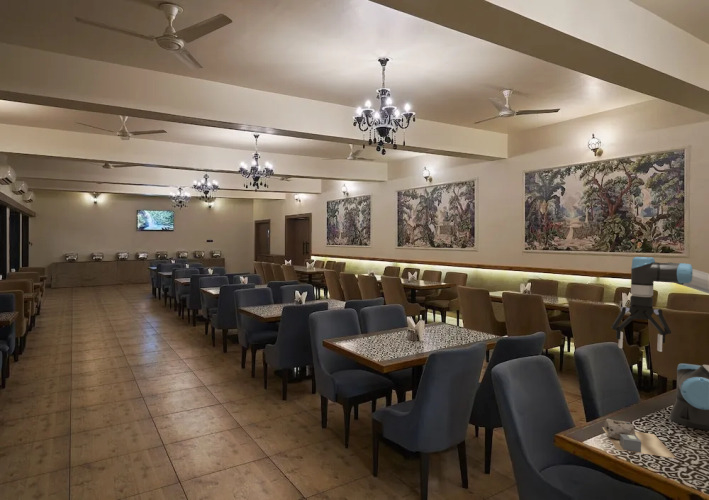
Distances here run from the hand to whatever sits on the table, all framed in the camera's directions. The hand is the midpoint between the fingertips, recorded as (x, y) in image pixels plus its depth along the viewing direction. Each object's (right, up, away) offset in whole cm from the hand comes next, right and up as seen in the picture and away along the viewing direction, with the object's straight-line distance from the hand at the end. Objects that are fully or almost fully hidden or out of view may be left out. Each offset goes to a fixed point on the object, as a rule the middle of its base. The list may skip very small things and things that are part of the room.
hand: (639, 349), depth 176 cm
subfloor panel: (-15, -28, -21) cm, 38 cm away
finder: (-20, -27, -27) cm, 43 cm away
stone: (-18, -28, -16) cm, 36 cm away
